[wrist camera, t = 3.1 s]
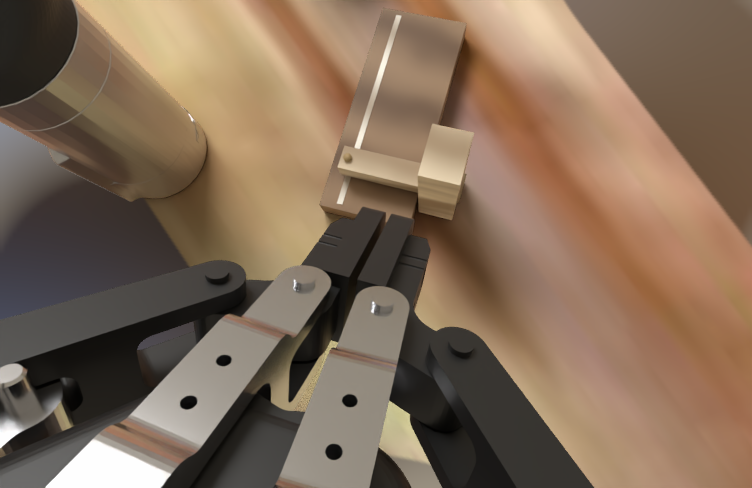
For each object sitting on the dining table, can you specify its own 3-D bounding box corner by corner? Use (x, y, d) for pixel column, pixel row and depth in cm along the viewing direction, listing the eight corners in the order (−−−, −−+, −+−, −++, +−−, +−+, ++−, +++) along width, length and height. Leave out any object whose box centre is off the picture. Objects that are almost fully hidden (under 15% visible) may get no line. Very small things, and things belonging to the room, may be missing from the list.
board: (409, 233, 41) (408, 227, 39) (324, 211, 42) (319, 204, 40) (464, 37, 45) (466, 22, 43) (384, 22, 46) (382, 7, 44)
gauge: (454, 220, 41) (462, 186, 32) (341, 192, 42) (320, 152, 33) (465, 178, 41) (476, 133, 33) (354, 152, 43) (336, 102, 34)
